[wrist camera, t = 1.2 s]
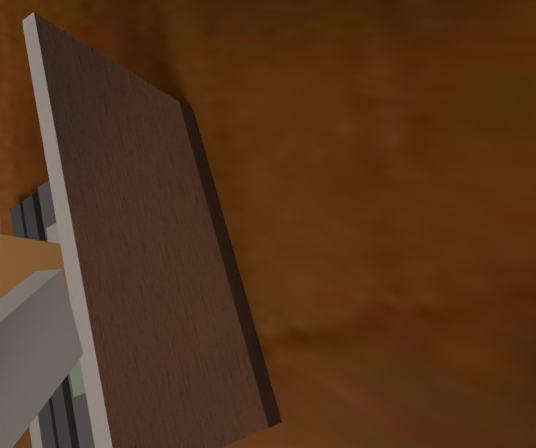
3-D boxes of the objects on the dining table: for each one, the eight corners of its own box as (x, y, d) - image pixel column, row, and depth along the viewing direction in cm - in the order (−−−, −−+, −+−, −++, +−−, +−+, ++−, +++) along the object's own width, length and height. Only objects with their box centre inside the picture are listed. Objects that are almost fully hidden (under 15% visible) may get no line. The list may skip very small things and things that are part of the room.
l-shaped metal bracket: (54, 191, 50) (-132, 142, 36) (193, 110, 44) (33, 12, 30) (103, 473, 42) (-112, 552, 28) (281, 422, 36) (120, 490, 22)
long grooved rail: (11, 217, 52) (-1, 214, 51) (44, 198, 50) (32, 195, 49) (50, 489, 44) (36, 494, 43) (90, 477, 42) (77, 482, 41)
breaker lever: (74, 271, 44) (-89, 254, 33) (112, 251, 42) (-45, 227, 31) (84, 327, 43) (-83, 331, 31) (124, 309, 41) (-36, 306, 29)
